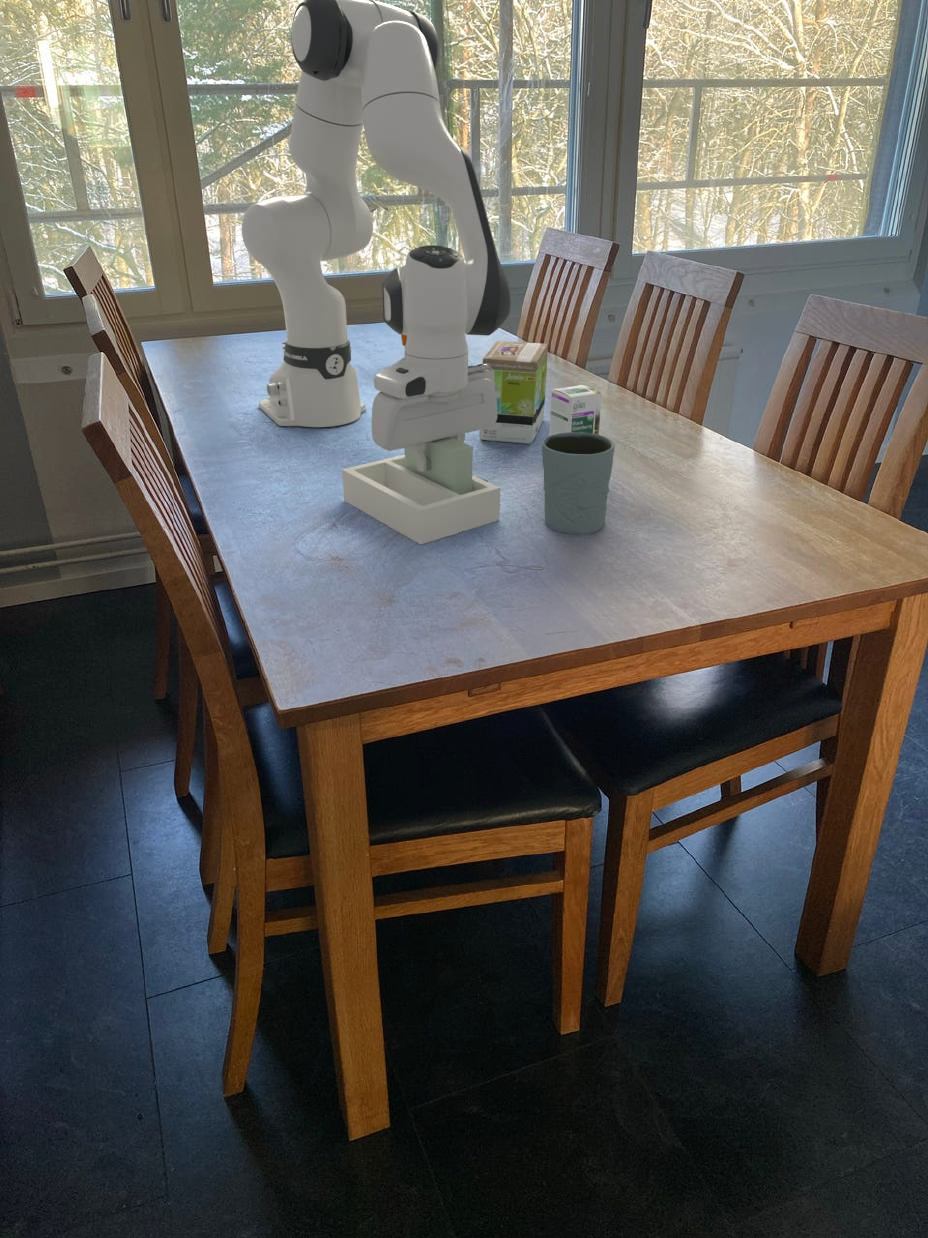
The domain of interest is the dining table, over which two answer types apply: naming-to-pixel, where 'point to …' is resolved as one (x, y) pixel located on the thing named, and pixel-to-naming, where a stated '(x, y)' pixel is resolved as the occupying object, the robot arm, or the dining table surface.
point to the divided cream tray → (418, 500)
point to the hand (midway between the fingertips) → (437, 466)
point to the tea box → (517, 390)
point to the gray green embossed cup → (576, 481)
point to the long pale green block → (446, 464)
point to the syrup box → (575, 410)
